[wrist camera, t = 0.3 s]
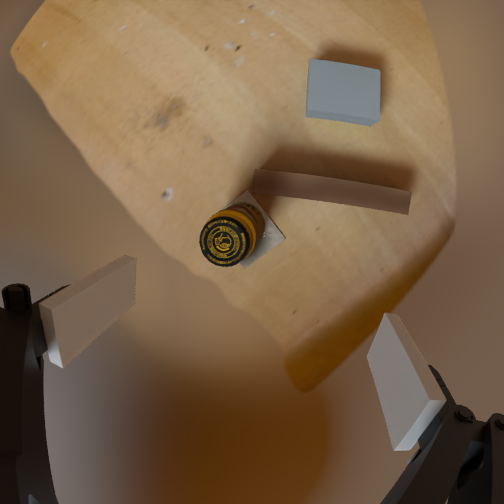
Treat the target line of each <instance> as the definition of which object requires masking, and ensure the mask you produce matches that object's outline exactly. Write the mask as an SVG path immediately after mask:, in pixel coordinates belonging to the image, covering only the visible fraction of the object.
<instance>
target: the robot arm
mask: <svg viewBox="0 0 504 504" xmlns="http://www.w3.org/2000/svg"><path fill="white" fill-rule="evenodd" d="M135 280H136V258H134V257H130V256H126V255H124V256H122V257H120V258H118V259H116V260H114V261H113V262H111V263H109V264H107V265H105V266H103V267H102V268H100V269H98V270H96V271H94V272H92V273H91V274H89V275H87V276H85V277H84V278H82V279H80V280H78V281H76V282H75V283H73V284H70V285H67V286H63V287H61V288H59V289H58V290H56V291H55V292H52V293H50V294H49V295H47V296H45V297H44V298H42V299H40V300H39V301H37V302H35V303H33V304H32V302H31V296H30V288H29V287H28V286H27V285H24V284H19V283H18V284H11V285H8V286H6V287H5V288H3V290H2V297H3V302H4V307H5V308H1V307H0V504H58V501H57V498H56V495H55V490H54V486H53V480H52V475H51V469H50V463H49V456H48V449H47V441H46V429H45V417H44V394H43V393H44V392H43V374H44V373H43V372H44V360H43V356H42V354H43V353H44V352H46V351H47V350H48V354H49V358H50V361H51V362H52V363H54V364H56V365H58V366H59V367H61V368H64V367H65V366H66V365H67V364H68V363H69V362H70V361H72V360H73V359H74V358H75V357H76V356H77V355H78V354H79V353H80V352H82V351H83V350H84V349H85V348H86V347H87V346H88V345H89V344H90V343H91V342H92V341H94V340H95V339H96V338H97V337H98V336H99V335H100V334H101V333H103V332H104V331H105V330H106V329H107V328H108V327H109V326H110V325H112V324H113V323H114V322H115V321H116V320H117V319H118V318H120V317H121V316H122V315H123V314H124V313H125V312H126V311H127V310H129V309H130V308H131V307H132V306H133V305H134V304H135V282H136V281H135ZM367 359H368V362H369V365H370V368H371V372H372V375H373V378H374V381H375V385H376V388H377V391H378V395H379V398H380V402H381V405H382V409H383V412H384V416H385V420H386V423H387V427H388V431H389V435H390V439H391V443H392V446H393V450H394V451H399V450H410V449H411V448H412V447H413V446H414V444H415V443H416V442H417V441H418V442H419V446H420V448H419V449H418V451H417V452H416V453H415V454H414V455H413V456H412V458H411V459H410V460H409V461H408V462H407V463H406V464H407V465H408V466H407V467H406V469H405V470H404V472H403V473H402V475H401V476H400V478H399V479H398V480H397V482H396V483H395V485H394V486H393V487H392V489H391V490H390V491H389V493H388V494H387V495H386V497H385V498H384V499H383V501H382V502H381V503H380V504H445V502H446V500H447V498H448V502H447V504H504V415H502V414H499V413H495V414H492V416H491V417H490V418H489V419H488V421H487V422H483V421H478V420H476V418H475V416H474V414H473V412H472V411H471V410H470V409H468V408H467V407H465V406H462V405H456V403H455V401H454V399H453V397H452V396H451V394H450V392H449V390H448V389H447V387H446V385H445V383H444V381H442V378H441V376H440V374H439V373H438V372H437V370H435V369H434V368H433V367H432V366H431V365H427V363H426V362H425V360H424V358H423V356H422V355H421V353H420V351H419V350H418V348H417V346H416V344H415V343H414V341H413V339H412V338H411V336H410V334H409V333H408V331H407V330H406V328H405V326H404V325H403V323H402V322H401V320H400V318H399V317H398V315H395V314H389V313H384V316H383V319H382V321H381V324H380V326H379V329H378V331H377V334H376V336H375V339H374V341H373V343H372V346H371V348H370V350H369V353H368V355H367ZM448 496H449V497H448Z"/></svg>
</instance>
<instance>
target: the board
mask: <svg viewBox="0 0 504 504" xmlns="http://www.w3.org/2000/svg"><path fill="white" fill-rule="evenodd" d="M253 193H258V194H268V195H277V196H285V197H294V198H302V199H310V200H317V201H325V202H332V203H339V204H345V205H352V206H358V207H365V208H371V209H377V210H383V211H389V212H395V213H400V214H406V215H408V212H409V205H410V198H411V192H410V191H405V190H400V189H395V188H390V187H384V186H379V185H373V184H368V183H362V182H356V181H350V180H343V179H337V178H330V177H323V176H316V175H308V174H300V173H292V172H283V171H273V170H263V169H255V175H254V185H253Z"/></svg>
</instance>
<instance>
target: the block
mask: <svg viewBox="0 0 504 504" xmlns="http://www.w3.org/2000/svg"><path fill="white" fill-rule="evenodd" d="M305 117H310V118H319V119H327V120H334V121H341V122H347V123H353V124H359V125H365V126H372V125H373V124H375V123H376V122H378V121H380V70H378V69H373V68H368V67H363V66H358V65H352V64H346V63H340V62H333V61H326V60H317V59H309V68H308V84H307V101H306V116H305Z"/></svg>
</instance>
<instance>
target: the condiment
mask: <svg viewBox="0 0 504 504" xmlns="http://www.w3.org/2000/svg"><path fill="white" fill-rule="evenodd" d="M264 232H265V234H263V233H264ZM264 235H265V237H264ZM284 239H285V237H284V236H283V235H282V234H281V232H280V231H279V230H278V228H277V227H276V226H275V224H274V223H273V222H272V221H271V219H270V218H269V217H268V215H267V214H266V213H265V211H264V210H263V209H262V207H261V206H260V205H259V204H258V202H257V201H256V200H255V198H254V197H253V196H252V195H251V193H250V192H249V191H248V190H247V191H245V192H244V193H243V194H242V195H240V196H239V197H238V198H237V199H235V200H234V201H233V202H232V203H230V204H229V205H228V206H227V207H225V208H224V209H223V210H222V211H219V212H218V213H216V214H215V215H213V216H212V217H211V218H210V219H209V220H208V222H207V223H206V225H205V226H204V227H203V229H202V231H201V234H200V241H199V243H200V247H201V250H202V253H203V255H204V256H205V257H206V258H207V259H208V260H209V261H210V262H211V263H213V264H215V265H217V266H222V267H224V266H225V267H229V266H233V265H236V264H238V263H239V262H240V264H241V265H242V266H243V268H246V267H247V266H249V265H250V264H251V263H253V262H254V261H255V260H257V259H258V258H259V257H261V256H262V255H264V254H265V253H266V252H268V251H269V250H271V249H272V248H273V247H275V246H276V245H277V244H279V243H280V242H282V241H283V240H284Z"/></svg>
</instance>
